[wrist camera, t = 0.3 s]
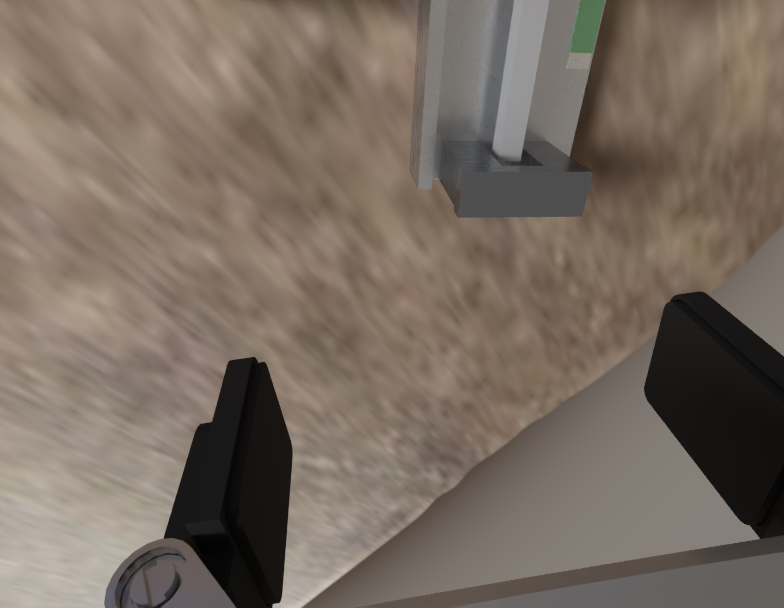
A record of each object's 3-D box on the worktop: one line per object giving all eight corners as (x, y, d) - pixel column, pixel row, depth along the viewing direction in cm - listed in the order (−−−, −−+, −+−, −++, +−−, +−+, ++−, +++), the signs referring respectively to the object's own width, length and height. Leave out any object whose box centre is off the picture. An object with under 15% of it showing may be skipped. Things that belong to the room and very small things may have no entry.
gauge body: (426, -124, 30) (463, -165, 22) (613, -111, 31) (713, -145, 23) (409, 170, 39) (430, 217, 31) (552, 170, 41) (607, 216, 33)
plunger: (494, -117, 28) (546, -149, 21) (627, -108, 29) (717, -136, 22) (463, 148, 36) (494, 185, 29) (568, 149, 37) (620, 185, 30)
